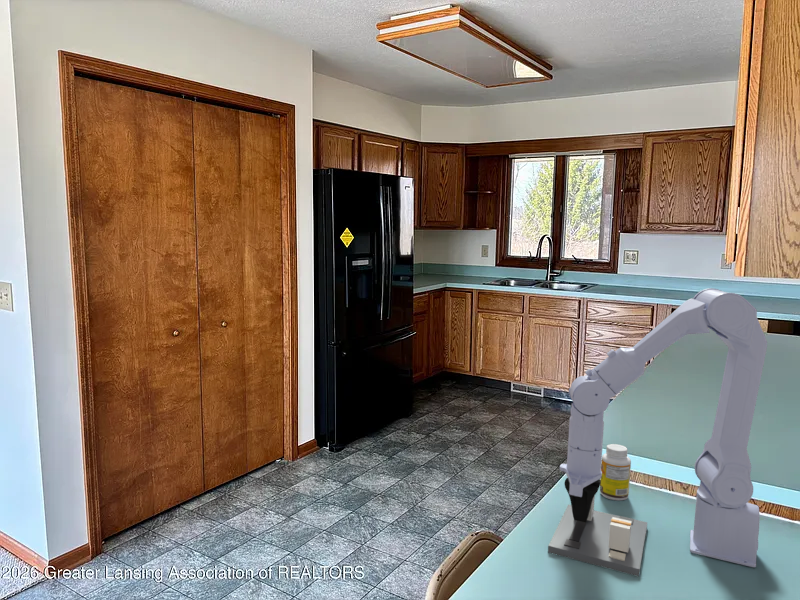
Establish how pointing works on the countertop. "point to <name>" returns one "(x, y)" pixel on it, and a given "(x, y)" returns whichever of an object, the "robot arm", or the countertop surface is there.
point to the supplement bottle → (615, 473)
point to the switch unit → (598, 542)
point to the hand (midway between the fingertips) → (580, 519)
